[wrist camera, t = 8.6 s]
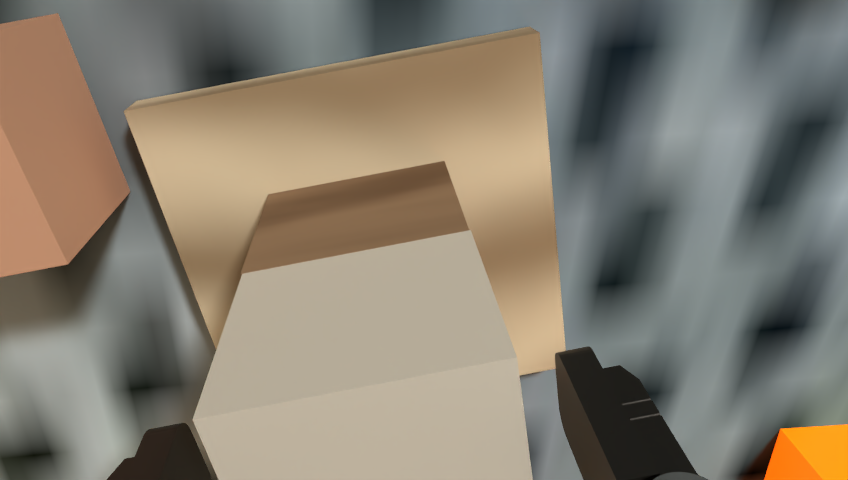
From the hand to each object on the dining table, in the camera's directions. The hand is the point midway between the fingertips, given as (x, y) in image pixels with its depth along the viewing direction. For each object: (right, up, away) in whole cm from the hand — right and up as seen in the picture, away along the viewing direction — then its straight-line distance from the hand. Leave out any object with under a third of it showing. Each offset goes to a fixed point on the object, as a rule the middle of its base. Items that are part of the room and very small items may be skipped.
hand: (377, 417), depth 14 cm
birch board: (-1, +4, +8) cm, 9 cm away
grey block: (0, +1, +3) cm, 3 cm away
